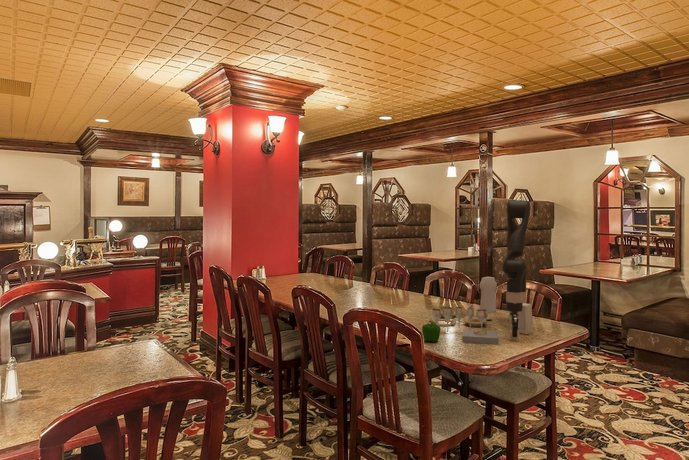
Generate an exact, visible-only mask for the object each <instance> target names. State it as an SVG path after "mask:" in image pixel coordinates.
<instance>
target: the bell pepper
mask: <svg viewBox="0 0 689 460" xmlns="http://www.w3.org/2000/svg"><path fill="white" fill-rule="evenodd" d="M433 323H434V324H433ZM435 323H436V322H435V321H432V322H430V323H426V324H423V325H422V329H421V331H422V336H423V339H424V341H425V340H426V341H425V342H427V341H432V343H437V342H438V341H439V339H440V335H441V333H440V332H441V326H438V325H436V324H435ZM436 341H437V342H436Z"/></svg>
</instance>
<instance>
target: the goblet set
mask: <svg viewBox="0 0 689 460" xmlns="http://www.w3.org/2000/svg"><path fill="white" fill-rule="evenodd" d="M440 309H441V308H440ZM440 309H438V308H433V309H432V310H431V315H432V316H431V318H433V319H434V320H435V322H436V325H437V323H438V321H439V319H441V318H442V317H441V310H443V316H444V318H443V319H446V321H447V326H446V327H447V328H446V329H447V332H448V331H449V326H448V323H449V320H452V318H451V317H452V315H453V311H455V314H456V315H455V317H456V319H457V320H456V321H457V323H458V327H460V326H461V325H460V324H461V320H462V317H463V311H464V310H463V307H461V306H457V307H455V310H453V307H451V306H444V307H442V309H441V310H440ZM466 315H467V316H468V319H469V321H470V326H469V330H472V326H471V321H472V318H473V316H474V315H476V317H477V319H478V320H479V321H480V322H481V326H480V327H481V331H479V332H477V334H476V335H486V332H485V331H483V322H484V321H485V320H486V319H487V317H489V316H488V315H489V313H487V311H486V310H484V309H480V308H479V309H476V313H475V309H474V307H467V308H466ZM456 332H457V333H463V332H462V331H456Z"/></svg>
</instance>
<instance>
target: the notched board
mask: <svg viewBox="0 0 689 460" xmlns="http://www.w3.org/2000/svg"><path fill="white" fill-rule="evenodd" d="M462 331H463V332H462V333H463V335H462V343H465V342H466V343H468V344H470V343H471V344H484V345H485V344H487V345H499V336H498V331H493V330H492V331H491V330H490V331H489V330H486V332H485V333H486V334H485V335H481V334H475V329H474V330H473V329H471V330H470V329H463V330H462Z"/></svg>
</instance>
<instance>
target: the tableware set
mask: <svg viewBox="0 0 689 460" xmlns="http://www.w3.org/2000/svg"><path fill="white" fill-rule="evenodd" d="M437 309H440V310H441V317H440V319H439V321H445V322H447V321H446V319H445V318H443V317H444V316H443V309H441V308H439V307H438V308H437ZM455 316H456V314H455V310H453V315H452V317H451V319H450V320H449V322H451V323H450V324H448V327H452V326H455V325H456V323H457V321H458V320H457V318H454V317H455ZM428 319H429V320H430V321H431V322H432V321H435V320H434V319H433V317H429V318H428ZM493 319H494V318H492V317H489V316H488V317H487V319H486V320H485V321H484V322H483V324H487V321H490V320H492V321H493ZM463 321H464V323H466V324H467V325H468V326H469V327H470V321H469V319H468V316H467V314H466V315H465V316H464V317H463ZM431 322H430V323H431ZM433 324H434V323H433ZM435 324H436V323H435ZM483 324H482V325H483ZM437 325H439V327H447V324H439V323H437ZM451 325H452V326H451ZM471 327H474V328H477V327H478V328H479V327H481V322H480V321H479V320H478V319H477V317H476V314H474V316H473V318H472V321H471Z"/></svg>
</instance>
